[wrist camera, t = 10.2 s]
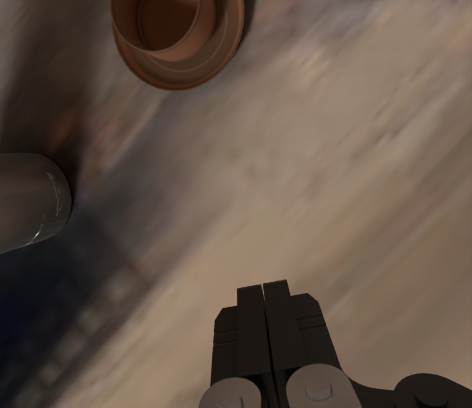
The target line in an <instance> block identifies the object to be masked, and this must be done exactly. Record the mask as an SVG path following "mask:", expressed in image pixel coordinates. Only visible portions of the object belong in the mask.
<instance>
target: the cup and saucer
mask: <svg viewBox="0 0 472 408" xmlns="http://www.w3.org/2000/svg"><path fill="white" fill-rule="evenodd" d="M110 12H111V17H112V29H113V36H114V40H115V43H116V46H117V49H118V51H119V54H120V56H121V58H122V59H123V61H124V63H125V64H126V66H127V67H128V68H129V69H130V70H131V72H132V73H133V74H134V75H135V76H137V77H138V78H139V79H140V80H142V81H143V82H145V83H147V84H149V85H151V86H153V87H155V88H159V89H162V90H168V91H183V90H189V89H192V88H196V87H198V86H201V85H203V84H205V83H207V82H208V81H210V80H211V79H213V78H214V77H215V76H217V75H218V74H219V73H220V72H221V71H222V70H223V69H224V68H225V67H226V66H227V64H228V63H229V62H230V60H231V59H232V57H233V55H234V54H235V52H236V50H237V47H238V45H239V42H240V40H241V36H242V32H243V27H244V18H245V8H244V0H110Z"/></svg>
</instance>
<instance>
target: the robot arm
mask: <svg viewBox="0 0 472 408" xmlns="http://www.w3.org/2000/svg"><path fill="white" fill-rule="evenodd" d="M71 201H72V199H71V191H70V188H69V184H68V181H67V179H66V177H65V175H64V174H63V172H62V171H61V169H60V168H59V167H58V166H57V165H56V164H55V163H54V162H53V161H52V160H50V159H49V158H47V157H45V156H43V155H40V154H37V153H0V254H2V253H5V252H8V251H11V250H14V249H17V248H20V247H23V246H26V245H29V244H33V243H36V242H39V241H42V240H45V239H47V238H50V237H52V236H54V235H56V234H57V233H58V232H60V231H61V229H62V228H63V227H64V226H65V224H66V222H67V220H68V218H69V215H70V211H71ZM263 290H264V295H263V291H262V286H261V284H259V285H253V286H248V287H242V288H237V306H232V307H227V308H222V310H221V311H220V313H219V315H218V316H217V318H216V319H215V325H214V340H213V345H214V346H213V354H212V369H211V384H210V388H208V390H207V391H206V392H205V393H204V394H203V396H202V398H201V400H200V403H199V407H198V408H472V390H470V389H468V388H466V387H464V386H462V385H460V384H458V383H456V382H454V381H452V380H449V379H447V378H445V377H442V376H439V375H435V374H427V373H421V374H414V375H410V376H407V377H405V378H404V379H402V380H401V381H400V382H399V383H398V384H397V385H396V387H395V389H394V391H393V390H384V389H376V388H370V387H366V386H363V385H361V384H358V383H357V382H355V381H353V380H352V379H350V378H349V377H348V376H347V375H346V374H345V373H344V371H343V370H342V368H341V366H340V363H339V361H338V358H337V355H336V352H335V349H334V346H333V343H332V340H331V337H330V334H329V332H328V329H327V327H326V323H325V320H324V317H323V314H322V311H321V308H320V306H319V303H318V301H316V300H315V299H314V298H313V297H312V296H310V295H309V294H308V293H305V294H299V295H294V296H290V292H289V288H288V283H287V280H281V281H275V282H269V283H264V284H263ZM264 297H265V300H264Z"/></svg>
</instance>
